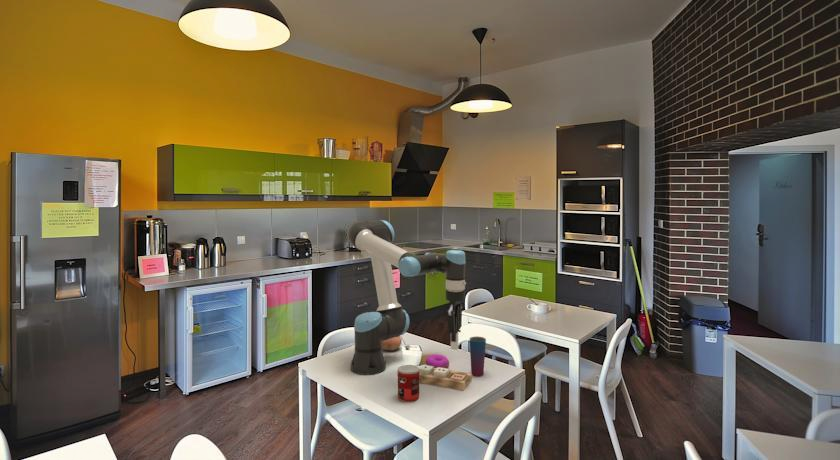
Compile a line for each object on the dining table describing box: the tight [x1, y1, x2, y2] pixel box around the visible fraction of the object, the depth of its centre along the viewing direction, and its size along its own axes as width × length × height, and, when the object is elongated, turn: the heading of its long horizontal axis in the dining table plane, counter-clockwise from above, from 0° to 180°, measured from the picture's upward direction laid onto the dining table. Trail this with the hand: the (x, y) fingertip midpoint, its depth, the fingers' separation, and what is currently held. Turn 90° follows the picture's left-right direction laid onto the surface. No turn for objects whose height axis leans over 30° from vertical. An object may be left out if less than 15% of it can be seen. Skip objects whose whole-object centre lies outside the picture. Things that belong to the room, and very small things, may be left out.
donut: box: [425, 353, 450, 368], centre depth 196 cm, size 10×10×4 cm
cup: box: [469, 335, 487, 377], centre depth 187 cm, size 7×7×15 cm
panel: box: [419, 368, 473, 391], centre depth 180 cm, size 22×10×3 cm, turn 66°
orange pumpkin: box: [382, 335, 402, 351], centre depth 218 cm, size 11×11×8 cm
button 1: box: [418, 364, 434, 375], centre depth 183 cm, size 5×5×2 cm
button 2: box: [434, 367, 450, 378], centre depth 180 cm, size 5×5×2 cm
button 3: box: [450, 373, 466, 381], centre depth 177 cm, size 5×5×2 cm
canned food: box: [397, 364, 420, 403], centre depth 165 cm, size 8×8×11 cm
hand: (454, 348), depth 177 cm, fingers closed
